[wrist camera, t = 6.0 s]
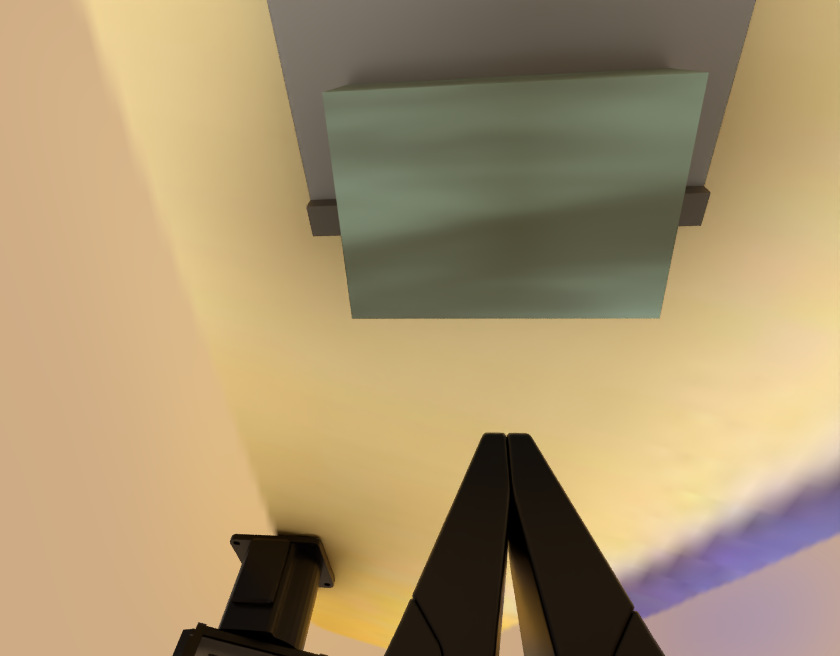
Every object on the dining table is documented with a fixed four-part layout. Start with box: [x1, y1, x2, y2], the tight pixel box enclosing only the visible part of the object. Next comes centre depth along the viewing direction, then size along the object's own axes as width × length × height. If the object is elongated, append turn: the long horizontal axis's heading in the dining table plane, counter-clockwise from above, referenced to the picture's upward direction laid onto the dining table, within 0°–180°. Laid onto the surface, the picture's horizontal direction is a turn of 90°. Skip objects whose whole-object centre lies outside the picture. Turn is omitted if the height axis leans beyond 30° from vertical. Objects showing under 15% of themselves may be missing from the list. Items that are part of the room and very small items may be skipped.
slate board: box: [267, 0, 756, 236], centre depth 15 cm, size 11×14×1 cm
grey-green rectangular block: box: [322, 68, 709, 319], centre depth 16 cm, size 3×10×7 cm
